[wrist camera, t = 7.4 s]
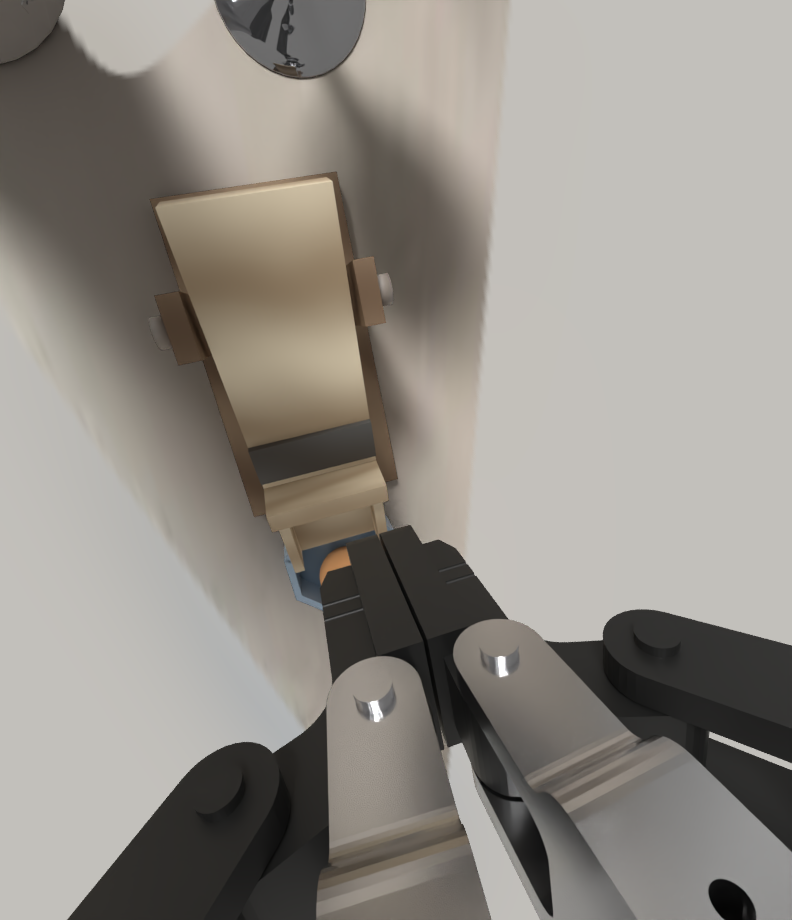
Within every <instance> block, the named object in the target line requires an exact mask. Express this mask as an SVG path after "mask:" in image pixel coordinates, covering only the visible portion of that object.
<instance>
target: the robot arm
mask: <svg viewBox="0 0 792 920" xmlns="http://www.w3.org/2000/svg"><path fill="white" fill-rule="evenodd" d="M64 1H65V0H0V64H1V63H5V62H9V61H13V60H17V59H18V58H20V57H22V56H24V55H25V54H27V53H29V52H30V51H32V50H34V49H35V48H37V47H38V46H39V45H40V44H41V42H42V41H43V40H44V39H45V38H46V37H47V36H48V35H49V34H50V33H51V32H52V30H53V28H54V26H55V24H56V22H57V20H58V18H59V16H60V14H61V12H62V10H63V6H64ZM379 539H380V540H379ZM346 547H347V552H348V556H349V560H350V564H351V565H349V566H346V567H342V568H339V569H335V570H332V571H328V572H327V574H326V576H325V578H324V580H323V583H322V585H321V587H320V594H321V601H322V607H323V615H324V621H325V630H326V637H327V644H328V652H329V659H330V666H331V673H332V687H331V689H330V691H329V694H328V698H327V705H326V707H325V709H324V711H323V712H322V714H321V715H320V716H319V718H318V719H317V720H316V721H315V722H314V723H313V724H312V725H311V726H310V727H309V728H308V729H307V730H306V731H304V732H303V733H302V734H301V735H299V736H298V737H296V738H295V739H293V740H292V741H290V742H289V743H288V744H286V745H285V746H283V747H282V748H280V749H279V750H277V751H276V752H274V753H272V752H271V751H270V750H269V749H267V748H266V747H265V746H263V745H261V744H257V743H253V742H241V743H235V744H232V745H228V746H225V747H223V748H221V749H219V750H217V751H215V752H213V753H212V754H210V755H208V756H207V757H205V758H204V759H203V760H201V761H200V762H199V763H198V764H196V765H195V766H194V767H193V768H192V769H191V770H190V771H189V772H188V773H187V774H186V775H185V776H184V778H183V779H182V780H181V781H180V782H179V784H178V785H177V786H176V787H175V789H174V790H173V791H172V792H171V793H170V795H169V796H168V797H167V798H166V800H165V801H164V802H163V803H162V804H161V806H160V807H159V808H158V809H157V811H156V812H155V813H154V814H153V816H152V817H151V818H150V819H149V820H148V822H147V823H146V824H145V825H144V826H143V828H142V829H141V830H140V831H139V833H138V834H137V835H136V836H135V837H134V839H133V840H132V841H131V842H130V844H129V845H128V846H127V847H126V848H125V850H124V851H123V852H122V854H121V855H120V856H119V857H118V858H117V860H116V861H115V862H114V863H113V864H112V866H111V867H110V868H109V869H108V871H107V872H106V873H105V874H104V875H103V877H102V878H101V879H100V880H99V881H98V883H97V884H96V885H95V887H94V888H93V889H92V890H91V891H90V892H89V894H88V895H87V896H86V897H85V899H84V900H83V901H82V902H81V904H80V905H79V906H78V907H77V908H76V910H75V911H74V912H73V913H72V915H71V916H70V917H69V918H68V920H491V916H490V913H489V909H488V906H487V902H486V899H485V895H484V892H483V888H482V885H481V881H480V878H479V874H478V871H477V867H476V864H475V861H474V857H473V853H472V850H471V847H470V843H469V840H468V837H467V834H466V831H465V828H464V826H463V824H461V821H460V819H459V815H458V812H457V808H456V805H455V801H454V798H453V794H452V790H451V787H450V783H449V779H448V776H447V772H446V769H445V765H444V761H443V758H442V754H441V750H444V745H443V740H442V735H441V731H442V733H443V736H444V739H445V741H446V744H447V746H448V747H451V746H453V745H456V744H459V743H463V745H464V747H465V750H466V752H467V754H468V757H469V759H470V762H471V765H472V772H473V777H474V783H475V787H476V789H477V792H478V794H479V797H480V799H481V801H482V803H483V805H484V807H485V809H486V811H487V813H488V815H489V817H490V819H491V821H492V823H493V825H494V827H495V829H496V831H497V833H498V835H499V837H500V839H501V841H502V843H503V845H504V847H505V849H506V851H507V853H508V855H509V857H510V859H511V862H512V864H513V866H514V868H515V870H516V872H517V874H518V876H519V878H520V880H521V882H522V884H523V886H524V888H525V890H526V892H527V894H528V896H529V898H530V900H531V902H532V904H533V906H534V908H535V910H536V912H537V914H538V916H539V918H540V920H792V770H790V769H787V768H784V767H782V766H779V765H777V764H774V763H772V762H769V761H767V760H764V759H761V758H759V757H756V756H754V755H752V754H749V753H746V752H744V751H741V750H739V749H736V748H734V747H731V746H728V745H726V744H724V743H721V742H718V741H716V740H713V739H711V738H709V731H710V732H713V733H715V734H718V735H720V736H723V737H726V738H728V739H731V740H733V741H736V742H738V743H741V744H744V745H746V746H749V747H752V748H754V749H757V750H759V751H762V752H764V753H767V754H770V755H772V756H775V757H777V758H780V759H783V760H785V761H788V762H790V763H792V646H791V645H787V644H783V643H780V642H776V641H772V640H768V639H764V638H761V637H757V636H753V635H749V634H745V633H742V632H737V631H734V630H730V629H726V628H722V627H719V626H715V625H711V624H707V623H703V622H699V621H695V620H692V619H688V618H684V617H681V616H676V615H672V614H669V613H665V612H660V611H655V610H630V611H626V612H622V613H620V614H617V615H616V616H614V617H612V618H611V619H610V620H609V621H608V622H607V623H606V625H605V627H604V630H603V640H601V641H585V642H568V643H567V642H560V643H559V642H550V641H545V640H543V639H542V637H541V636H540V635H539V634H537V633H536V632H535V631H534V630H533V629H531V628H530V627H528V626H526V625H524V624H522V623H519V622H516V621H512V620H509V619H508V618H507V617H506V616H505V614H504V613H503V611H502V610H501V609H500V607H499V606H498V605H497V603H496V602H495V600H494V599H493V598H492V596H491V595H490V594H489V592H488V591H487V590H486V588H485V587H484V586H483V584H482V583H481V582H480V580H479V579H478V578H477V576H475V575H474V572H473V571H472V570H471V568H470V567H469V566H468V565H467V564H466V561H465V560H464V559H463V557H462V556H461V555H460V553H459V552H458V551H457V549H456V548H454V547H452V546H450V545H448V544H446V543H444V542H442V541H440V540H435V541H432V542H428V543H425V544H422V543H421V541H420V540H419V538H418V536H417V535H416V533H415V531H414V530H413V528H412V527H411V525H408V526H404V527H401V528H397V529H394V530H390V531H387V532H383V533H379V538H378V535H377V534H376V535H373V536H369V537H365V538H362V539H358V540H355V541H351V542H348V543H346ZM440 728H441V730H440Z"/></svg>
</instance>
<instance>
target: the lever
mask: <svg viewBox="0 0 792 920" xmlns="http://www.w3.org/2000/svg"><path fill="white" fill-rule="evenodd" d="M155 209H156V211H157V214H158V216H159V219H160V222H161V224H162V227H163V229H164V232H165V235H166V237H167V240H168V242H169V245H170V248H171V250H172V253H173V255H174V258H175V260H176V263H177V266H178V268H179V271H180V273H181V276H182V279H183V281H184V284H185V286H186V289H187V291H188V294H189V297H190V299H191V302H192V304H193V307H194V310H195V312H196V315H197V317H198V320H199V322H200V325H201V328H202V330H203V333H204V335H205V338H206V341H207V343H208V346H209V348H210V351H211V354H212V356H213V359H214V361H215V364H216V366H217V369H218V372H219V374H220V377H221V379H222V382H223V385H224V387H225V390H226V392H227V395H228V397H229V400H230V403H231V405H232V408H233V410H234V413H235V416H236V418H237V421H238V423H239V426H240V428H241V431H242V434H243V436H244V439H245V441H246V444H247V447H248V453H249V455H250V458H251V460H252V463H253V465H254V468H255V471H256V473H257V476H258V478H259V481H260V483H261V485H263V488H264V496H265V507H266V518H267V520H268V523H269V525H270V528H271V530H272V532H276V531H279V532H280V534H281V537H282V540H283V542H284V545H285V547H286V550H287V552H288V555H289V558H290V560H291V563H292V565H293V568H294V570H295V573H298V572H301V571H305V568H304V562H303V556H302V551H303V550H306V549H310V548H313V547H317V546H320V545H324V544H327V543H331V542H334V541H338V540H341V539H345V538H349V537H352V536H356V535H359V534H363V533H366V532H370V531H373V530H375V533H376V534H377V535H378V538H379V533H383V532H387V526H386V519H385V513H384V506H383V502H386V501H389V499H388V492H387V485H386V483H385V481H384V478H383V476H382V473H381V471H380V469H379V466H378V464H377V461H376V457H375V456H376V451H375V444H374V438H373V432H372V425H371V421H370V419H369V412H368V406H367V399H366V393H365V387H364V380H363V374H362V367H361V361H360V354H359V348H358V342H357V335H356V329H355V322H354V316H353V310H352V303H351V297H350V290H349V284H348V277H347V271H346V265H345V258H344V252H343V245H342V239H341V233H340V226H339V220H338V213H337V207H336V200H335V194H334V188H333V181H331V180H330V179H329V178H327V177H324V178H317V179H310V180H304V181H297V182H290V183H283V184H277V185H270V186H263V187H256V188H249V189H243V190H236V191H229V192H222V193H216V194H209V195H202V196H195V197H189V198H182V199H175V200H168V201H162V202H159V203H158V205H157V206H156V207H155ZM379 540H380V539H379Z"/></svg>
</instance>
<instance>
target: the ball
mask: <svg viewBox="0 0 792 920" xmlns="http://www.w3.org/2000/svg"><path fill="white" fill-rule="evenodd" d="M349 565H351V564H350V560H349V556H348V552H347V547H346V546H343V547H339V548H337V549H335V550H333V551H332V552H330V553H329V554H328V555H327V556H326V558H325V559H324V561H323V563H322V565H321V568H320V583H321V585H322V583H323V580H324V578H325V576H326V574H327V572H328V571H332V570H335V569H339V568H342V567H346V566H349Z"/></svg>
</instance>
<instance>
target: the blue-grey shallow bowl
mask: <svg viewBox="0 0 792 920" xmlns="http://www.w3.org/2000/svg"><path fill="white" fill-rule="evenodd" d="M385 519H386V526H387V531H390V530H394V529H393V527H392V525H391V523H390V521H389V519H388V517H387V516H386V515H385ZM373 535H376V533H375V530H373V531H370V532H366V533H363V534H359V535H356V536H352V537H349V538H345V539H341V540H338V541H334V542H331V543H327V544H324V545H320V546H317V547H313V548H310V549H306V550H303V551H302V556H303V562H304V568H305V571H301V572H298V573H295V570H294V568H293V565H292V563H291V560H290V558H289V555H288V552H287V550H286V547H285V545H284V562H285V565H286V569H287V572H288V575H289V578H290V581H291V584H292V588H293V591H294V594H295V597H296V600H298V601H300V602H303V603H305V604H308V605H310V606H313V607H315V608H317V609H320V610H322V611H323V607H322V601H321V594H320V587H321V583H320V568H321V565H322V563H323V561H324V559H325V558H326V556H327V555H328V554H329V553H330V552H332V551H333V550H335V549H337V548H339V547H343V546H346V543H348V542H351V541H355V540H358V539H362V538H365V537H369V536H373Z"/></svg>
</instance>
